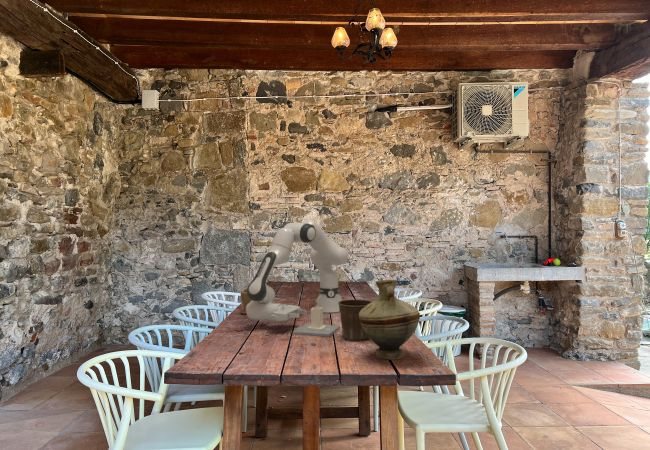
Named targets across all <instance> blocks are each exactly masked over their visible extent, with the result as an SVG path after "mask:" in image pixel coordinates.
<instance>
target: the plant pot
mask: <svg viewBox="0 0 650 450" xmlns="http://www.w3.org/2000/svg"><path fill="white" fill-rule="evenodd" d="M371 302H373V301H372V300H368V299H367V300H366V299H343V300H342V301H340V302H338V304H339V310H340V311H339V313H340V321H341V322H340V323H341V331H342V338H343V339H344V340H348V341H351V342H354V341H355V342H356V341H357V342H359V341H362V340H363V341H365V340H368V339H370V338H369V337H368V336H367V334H366V333H365V332H364V330H363V328H362V326H361V323H360V320H359V312H360V311H361V310H362V309H363V308H364V307H365V306H367V305H368V304H370V303H371Z"/></svg>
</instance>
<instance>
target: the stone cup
mask: <svg viewBox="0 0 650 450" xmlns="http://www.w3.org/2000/svg"><path fill="white" fill-rule="evenodd" d="M240 300H241V302H242V305H243V306H242V307H243V308H242V309H241V310H239V312H240V314H242V313H243V315H247V313H246V306H247V304H249V303H250V302H251V301H252V300H251V299H250V298H249V297H248V295H247V288H244V289H243V290H241V291H240Z"/></svg>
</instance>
